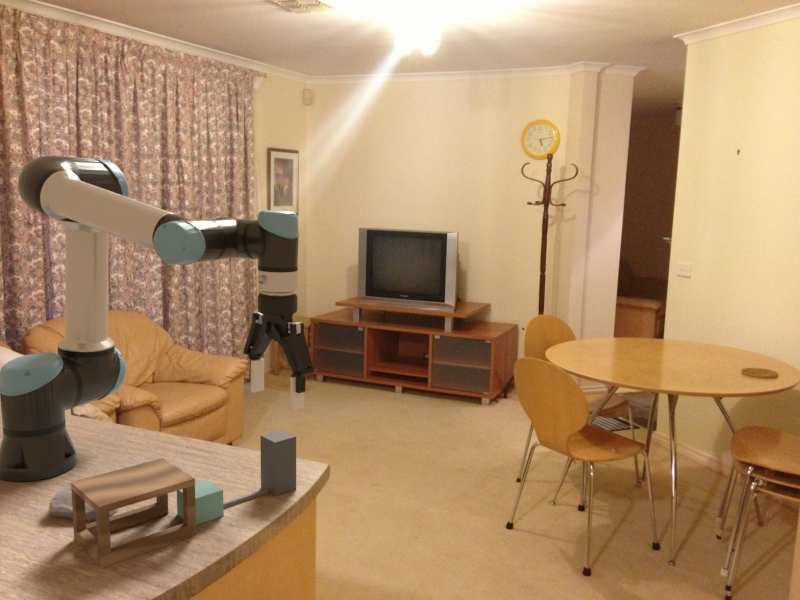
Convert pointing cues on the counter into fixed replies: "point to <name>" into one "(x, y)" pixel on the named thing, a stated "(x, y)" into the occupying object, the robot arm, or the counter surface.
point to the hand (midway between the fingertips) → (276, 399)
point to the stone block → (70, 505)
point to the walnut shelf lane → (125, 491)
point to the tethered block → (274, 478)
